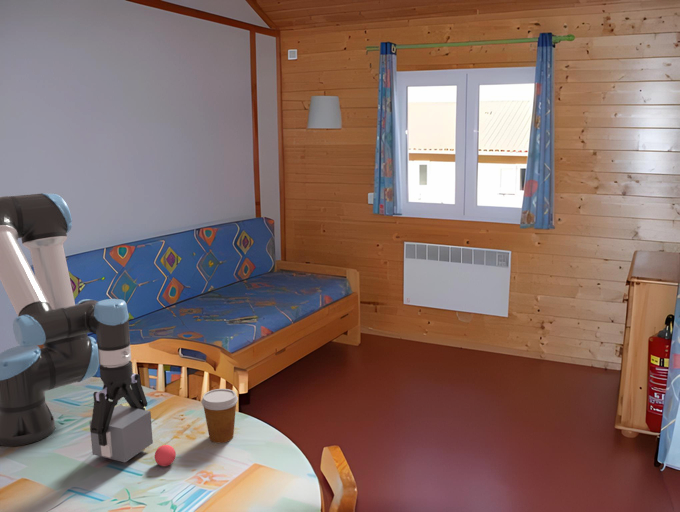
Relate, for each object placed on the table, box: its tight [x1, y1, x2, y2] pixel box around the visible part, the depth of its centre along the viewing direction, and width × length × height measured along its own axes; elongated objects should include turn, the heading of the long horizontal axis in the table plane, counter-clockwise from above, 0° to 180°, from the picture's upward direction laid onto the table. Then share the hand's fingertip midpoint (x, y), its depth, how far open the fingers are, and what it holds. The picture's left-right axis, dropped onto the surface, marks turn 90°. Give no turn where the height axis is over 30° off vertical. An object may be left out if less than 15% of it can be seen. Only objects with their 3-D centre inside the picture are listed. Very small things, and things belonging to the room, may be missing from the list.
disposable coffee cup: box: [200, 388, 239, 444], centre depth 165 cm, size 10×10×12 cm
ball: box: [154, 444, 177, 467], centre depth 152 cm, size 5×5×5 cm
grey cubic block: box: [89, 404, 154, 463], centre depth 156 cm, size 10×10×9 cm
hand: (122, 445), depth 157 cm, fingers closed on grey cubic block, 10 cm apart
